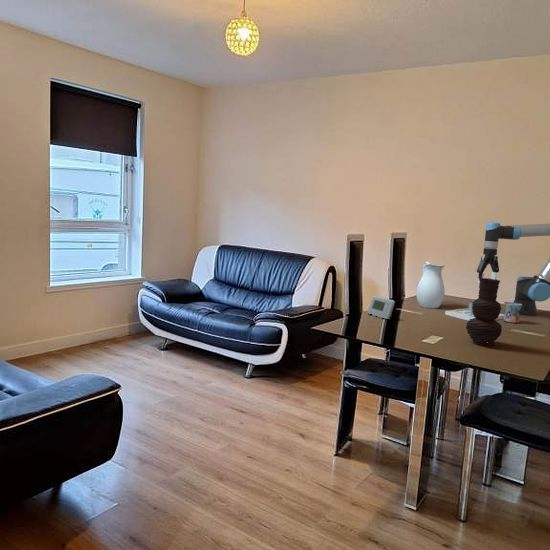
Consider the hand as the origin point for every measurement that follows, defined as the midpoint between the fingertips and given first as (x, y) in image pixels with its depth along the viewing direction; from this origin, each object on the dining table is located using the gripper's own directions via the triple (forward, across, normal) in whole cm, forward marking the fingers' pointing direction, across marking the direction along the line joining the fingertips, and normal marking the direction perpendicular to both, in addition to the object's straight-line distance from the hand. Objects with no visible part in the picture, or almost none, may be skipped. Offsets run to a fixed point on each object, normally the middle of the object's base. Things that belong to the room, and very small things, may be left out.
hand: (486, 283), depth 296 cm
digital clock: (+18, +72, -18) cm, 76 cm away
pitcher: (+19, +14, -30) cm, 38 cm away
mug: (+19, +4, +20) cm, 28 cm away
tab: (+17, +7, -2) cm, 18 cm away
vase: (+19, +67, +41) cm, 81 cm away
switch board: (+19, +13, +3) cm, 23 cm away
